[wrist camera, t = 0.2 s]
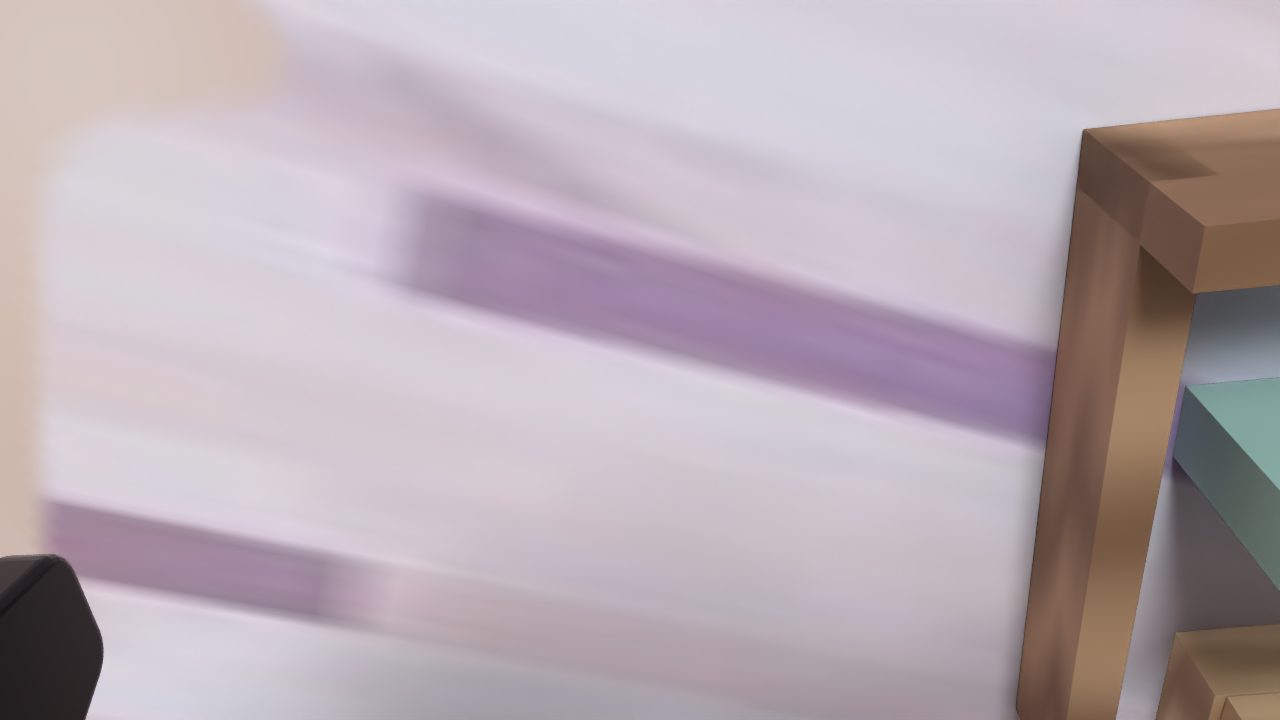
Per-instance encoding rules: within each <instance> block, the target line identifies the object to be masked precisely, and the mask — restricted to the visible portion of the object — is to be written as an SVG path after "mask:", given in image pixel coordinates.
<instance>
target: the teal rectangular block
mask: <svg viewBox="0 0 1280 720" xmlns="http://www.w3.org/2000/svg"><path fill="white" fill-rule="evenodd" d="M1173 457H1174V458H1175V459H1176V461H1177V462H1178V463H1179V464H1180V466H1181V467H1182V468H1183V470H1184V471H1185V472H1186V473H1187V475H1188V476H1189V477H1190V478H1191V480H1192V481H1193V482H1194V483H1195V485H1196V486H1197V487H1198V489H1199V490H1200V491H1201V492H1202V494H1203V495H1204V496H1205V497H1206V499H1207V500H1208V501H1209V503H1210V504H1211V505H1212V506H1213V508H1214V509H1215V510H1216V511H1217V513H1218V514H1219V515H1220V516H1221V518H1222V519H1223V520H1224V522H1225V523H1226V524H1227V525H1228V527H1229V528H1230V529H1231V530H1232V532H1233V533H1234V534H1235V535H1236V537H1237V538H1238V539H1239V541H1240V542H1241V543H1242V544H1243V546H1244V547H1245V548H1246V549H1247V551H1248V552H1249V553H1250V555H1251V556H1252V557H1253V558H1254V560H1255V561H1256V562H1257V563H1258V565H1259V566H1260V567H1261V568H1262V570H1263V571H1264V572H1265V574H1266V575H1267V576H1268V577H1269V579H1270V580H1271V581H1272V582H1273V584H1274V585H1275V586H1276V588H1277V589H1278V590H1279V591H1280V377H1277V378H1266V379H1256V380H1245V381H1234V382H1224V383H1213V384H1202V385H1192V386H1186V389H1185V395H1184V400H1183V405H1182V410H1181V415H1180V420H1179V425H1178V431H1177V436H1176V441H1175V446H1174V451H1173Z"/></svg>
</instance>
